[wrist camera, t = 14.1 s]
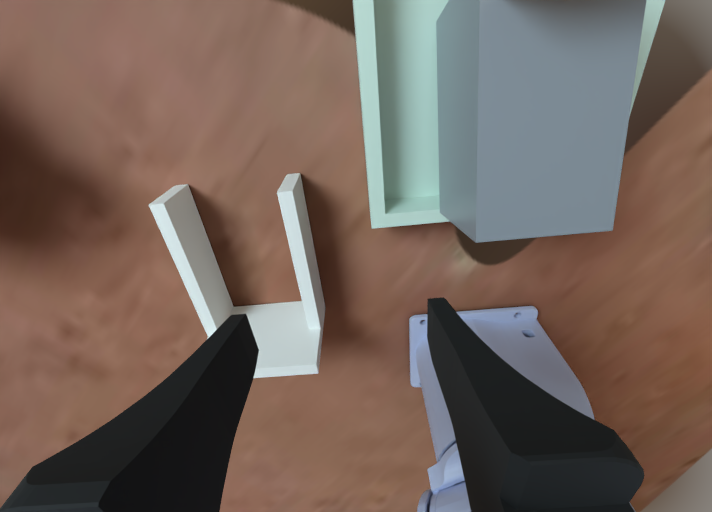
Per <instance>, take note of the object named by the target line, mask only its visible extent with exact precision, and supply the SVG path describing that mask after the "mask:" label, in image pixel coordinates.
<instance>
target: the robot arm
mask: <svg viewBox="0 0 712 512" xmlns="http://www.w3.org/2000/svg"><path fill="white" fill-rule="evenodd" d="M516 313H517V314H516ZM537 316H538V311H537V309H536V308H535V307H534V306H523V307H511V308H498V309H485V310H473V311H460V312H456V311H455V310H454V309H453V308H452V306H451V305H450V304H449V303H448V301H447V300H446V299H445V298H433V299H428V313H427V314H422V315H414V316H412V317H410V319H409V340H410V382H411V385H412V386H413V387H422V392H423V397H424V402H425V406H426V411H427V416H428V421H429V426H430V431H431V435H432V440H433V445H434V450H435V455H436V460H437V464H435V465H434V466H432V467H430V468H428V475H429V480H430V486H431V489H428V490H426V491H425V492H424V493H423V494H422V496H421V498H420V500H419V504H418V509H417V512H636V511H635V510H634V508H633V507H632V505H631V504H630V500H631V499H632V497H633V496H634V494H635V493H636V492H637V490H638V489H639V487H640V486H641V484H642V481H643V479H644V471H643V468H642V467H641V465H640V464H639V462H638V461H637V460H636V458H635V457H634V455H633V454H632V452H631V451H630V450H629V448H628V447H627V446H626V444H625V443H624V442H623V441H622V440H621V438H620V437H619V436H618V435H617V433H616V432H615V431H614V430H612V429H611V428H609V427H607V426H605V425H603V424H601V423H599V422H597V421H595V419H594V415H593V411H592V408H591V405H590V403H589V400H588V398H587V395H586V393H585V391H584V389H583V387H582V385H581V383H580V382H579V380H578V379H577V377H576V376H575V374H574V373H573V371H572V370H571V368H570V367H569V366H568V364H567V363H566V361H565V360H564V358H563V357H562V355H561V354H560V353H559V351H558V350H557V348H556V347H555V345H554V344H553V343H552V341H551V340H550V338H549V337H548V335H547V334H546V332H545V331H544V330H543V328H542V327H541V325H540V324H539V322H538V321H537ZM421 320H425V321H423V322H421ZM258 353H259V349H258V346H257V343H256V340H255V337H254V335H253V332H252V329H251V326H250V323H249V320H248V318H247V315H246V314H236V315H231V316H230V317H229V318H227V319H226V320H225V321H224V323H223V324H222V325H221V326H220V327H219V328H218V329H217V330H216V331H215V332H214V333H213V334H212V335H211V336H210V337H209V338H208V339H207V340H206V341H205V342H204V343H203V344H202V345H201V346H200V347H199V348H198V349H197V350H196V351H195V352H194V353H193V354H192V355H191V356H190V357H189V358H188V359H187V360H186V361H185V362H184V363H183V364H182V365H181V366H179V367H178V368H177V369H176V370H175V371H174V372H173V373H172V374H171V375H170V376H169V377H167V378H166V379H165V380H164V381H163V382H162V383H160V384H159V385H158V386H157V387H155V388H154V389H153V390H152V391H151V392H149V393H148V394H147V395H145V396H144V397H143V398H142V399H140V400H139V401H137V402H136V403H135V404H133V405H132V406H131V407H129V408H128V409H126V410H125V411H124V412H122V413H121V414H119V415H118V416H117V417H115V418H114V419H112V420H111V421H109V422H108V423H106V424H105V425H103V426H102V427H100V428H99V429H97V430H95V431H94V432H92V433H91V434H89V435H87V436H86V437H84V438H83V439H81V440H79V441H78V442H76V443H74V444H73V445H71V446H69V447H67V448H66V449H64V450H62V451H60V452H59V453H57V454H55V455H53V456H52V457H50V458H48V459H46V460H44V461H43V462H41V463H39V464H37V465H35V466H33V467H32V468H31V470H30V471H29V472H28V473H27V475H26V476H25V477H24V479H23V480H22V481H21V482H20V484H19V485H18V486H17V488H16V489H15V490H14V491H13V493H12V494H11V495H10V497H9V498H8V499H7V500H6V502H5V503H4V504H3V506H2V507H1V508H0V512H219V510H220V504H221V498H222V493H223V488H224V483H225V478H226V473H227V468H228V463H229V458H230V454H231V449H232V445H233V441H234V437H235V433H236V430H237V427H238V424H239V421H240V417H241V414H242V411H243V408H244V405H245V402H246V399H247V396H248V393H249V390H250V387H251V384H252V381H253V377H254V374H255V369H256V364H257V358H258Z"/></svg>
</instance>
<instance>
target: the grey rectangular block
mask: <svg viewBox="0 0 712 512" xmlns="http://www.w3.org/2000/svg"><path fill="white" fill-rule="evenodd" d="M645 7H646V0H449V1H448V3H447V4H446V6H445V8H444V9H443V11H442V13H441V14H440V16H439V18H438V19H437V21H436V36H437V90H438V145H439V199H440V213H441V214H442V215H443V216H444V217H446V218H447V219H448V220H449V221H450V222H452V223H453V224H454V225H455V226H456V227H458V228H459V229H460V230H461V231H462V232H464V233H465V234H466V235H467V236H469V237H470V238H471V239H472V240H473V241H475V242H488V241H500V240H510V239H523V238H534V237H545V236H557V235H568V234H580V233H591V232H602V231H613V224H614V217H615V211H616V204H617V197H618V190H619V183H620V177H621V170H622V163H623V156H624V149H625V143H626V135H627V129H628V122H629V115H630V109H631V102H632V95H633V88H634V81H635V75H636V68H637V61H638V54H639V47H640V41H641V34H642V27H643V20H644V13H645Z"/></svg>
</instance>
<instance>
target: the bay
mask: <svg viewBox="0 0 712 512" xmlns="http://www.w3.org/2000/svg"><path fill="white" fill-rule="evenodd" d="M277 195H278V199H279V203H280V208H281V212H282V216H283V221H284V225H285V229H286V234H287V238H288V242H289V247H290V251H291V255H292V260H293V264H294V268H295V273H296V277H297V281H298V286H299V290H300V294H301V299H302V301H298V302H285V303H273V304H261V305H249V306H237V307H234V306H233V304H232V301H231V298H230V296H229V293H228V290H227V288H226V285H225V282H224V280H223V277H222V274H221V272H220V269H219V266H218V264H217V261H216V258H215V255H214V253H213V250H212V247H211V245H210V242H209V239H208V237H207V234H206V231H205V229H204V226H203V223H202V221H201V218H200V215H199V212H198V210H197V207H196V204H195V202H194V199H193V196H192V194H191V191H190V188H189V186H188V184H185V185H175V186H174V187H172V188H171V189H170V190H168V191H167V192H165V193H164V194H163V195H161V196H160V197H159V198H157V199H156V200H155V201H153V202H152V203H150V204H149V207H150V209H151V211H152V213H153V216H154V218H155V220H156V222H157V224H158V227H159V229H160V231H161V233H162V236H163V238H164V240H165V242H166V244H167V247H168V249H169V251H170V253H171V256H172V258H173V260H174V262H175V264H176V267H177V269H178V271H179V273H180V275H181V278H182V280H183V282H184V284H185V287H186V289H187V291H188V293H189V295H190V298H191V300H192V302H193V304H194V307H195V309H196V311H197V313H198V315H199V318H200V320H201V322H202V324H203V326H204V329H205V331H206V333H207V335H208V338H209V337H210V336H211V335H212V334H213V333H214V332H215V331H216V330H217V329H218V328H219V327H220V326H221V325H222V324H223V323H224V321H225V320H226V319H227V318H229V317H230V316H231V315H236V314H246V315H247V318H248V320H249V323H250V326H251V329H252V332H253V335H254V337H255V340H256V343H257V346H258V349H259V353H258V358H257V364H256V369H255V374H254V377H253V378H261V377H275V376H289V375H303V374H317V373H318V372H319V363H320V354H321V344H322V335H323V326H324V317H325V303H324V297H323V292H322V286H321V281H320V276H319V270H318V265H317V260H316V254H315V249H314V244H313V238H312V233H311V228H310V222H309V217H308V212H307V206H306V201H305V196H304V190H303V185H302V180H301V174H300V173H296V174H287V175H286V177H285V179H284V181H283V182H282V184H281V186H280V188H279V190H278V191H277ZM208 338H207V339H208Z"/></svg>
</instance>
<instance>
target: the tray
mask: <svg viewBox="0 0 712 512" xmlns="http://www.w3.org/2000/svg"><path fill="white" fill-rule="evenodd" d="M448 1H449V0H353V11H354V23H355V35H356V47H357V60H358V72H359V84H360V96H361V109H362V121H363V133H364V145H365V158H366V170H367V182H368V195H369V207H370V217H371V226H372V228H383V227H394V226H405V225H416V224H427V223H438V222H449V220H448V219H447V218H446V217H444V216H443V215H442V214H441V213H440V199H439V145H438V90H437V36H436V21H437V19H438V18H439V16H440V14H441V13H442V11H443V9H444V8H445V6H446V4H447V3H448ZM664 3H665V0H646V7H645V13H644V20H643V27H642V34H641V41H640V47H639V54H638V61H637V68H636V75H635V81H634V88H633V95H632V102H631V109H630V113H631V110H632V107H633V104H634V100H635V97H636V94H637V90H638V87H639V84H640V81H641V78H642V75H643V71H644V68H645V65H646V62H647V58H648V55H649V52H650V49H651V45H652V42H653V38H654V36H655V32H656V29H657V26H658V23H659V19H660V16H661V13H662V10H663V6H664ZM629 117H630V115H629Z"/></svg>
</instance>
